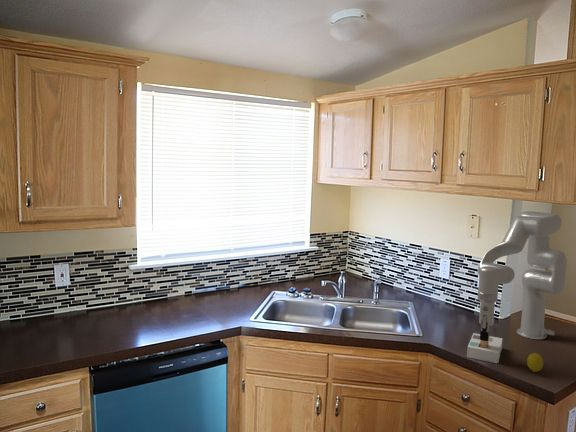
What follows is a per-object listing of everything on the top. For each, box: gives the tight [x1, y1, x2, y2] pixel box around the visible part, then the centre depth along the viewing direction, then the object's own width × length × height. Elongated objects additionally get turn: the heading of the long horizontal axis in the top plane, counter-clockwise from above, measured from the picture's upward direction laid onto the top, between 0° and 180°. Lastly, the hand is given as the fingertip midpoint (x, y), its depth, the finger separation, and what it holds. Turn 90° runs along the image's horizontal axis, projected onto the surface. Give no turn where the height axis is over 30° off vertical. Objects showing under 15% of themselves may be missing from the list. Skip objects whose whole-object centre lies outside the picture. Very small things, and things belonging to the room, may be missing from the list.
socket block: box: [466, 332, 503, 364], centre depth 196 cm, size 12×18×5 cm, turn 151°
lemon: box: [526, 352, 544, 373], centre depth 178 cm, size 6×6×8 cm
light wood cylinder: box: [480, 326, 491, 347], centre depth 191 cm, size 3×3×9 cm
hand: (484, 338), depth 191 cm, fingers closed on light wood cylinder, 3 cm apart
